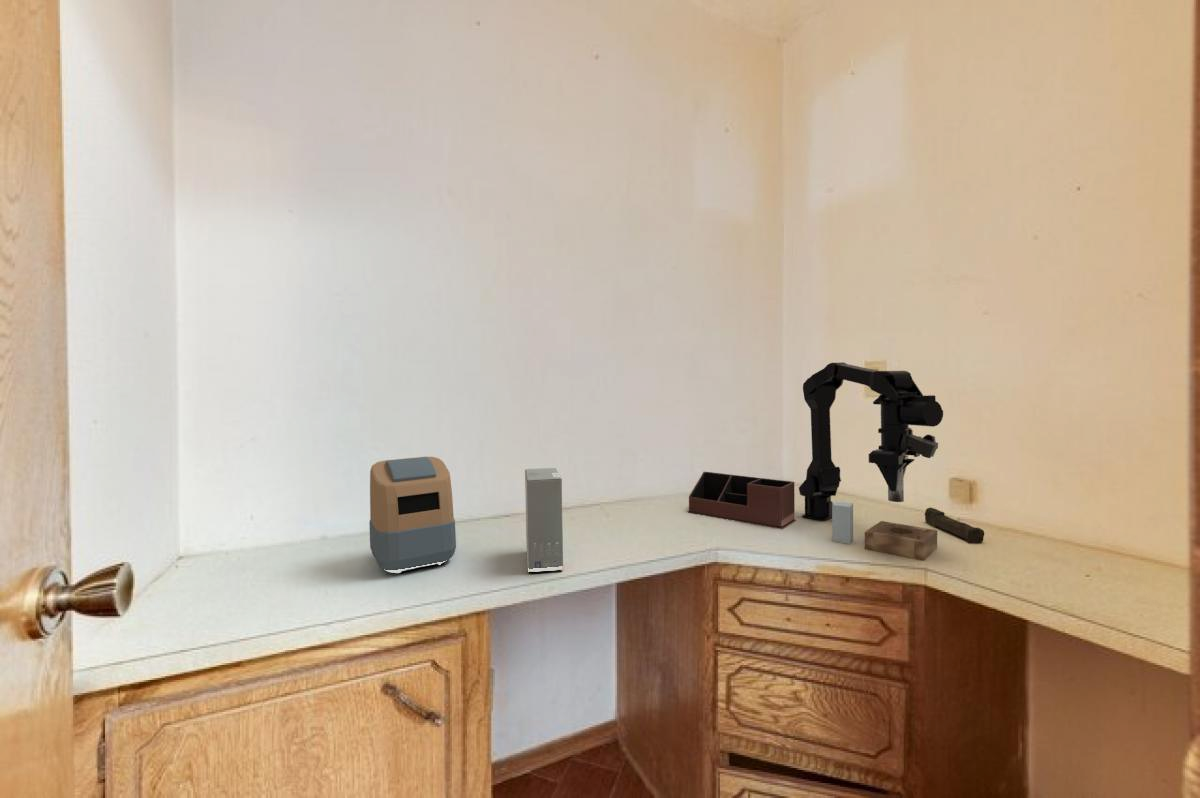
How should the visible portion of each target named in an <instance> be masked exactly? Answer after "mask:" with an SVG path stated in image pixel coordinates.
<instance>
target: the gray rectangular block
mask: <svg viewBox="0 0 1200 798" xmlns="http://www.w3.org/2000/svg"><path fill="white" fill-rule="evenodd" d="M831 519H832V520H831V522H832V523H831V524H832V526H831V530H832V533H831V534H832V536H831V537H832V538H831V542H834V543H840V544H841V543H842V544H848V545H851V544H852V542H853V541H854V503H853V502H852V503H851V502H845V501H844V502H843V501H834V503H833V505H832V517H831Z"/></svg>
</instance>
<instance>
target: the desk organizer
mask: <svg viewBox="0 0 1200 798" xmlns="http://www.w3.org/2000/svg"><path fill="white" fill-rule="evenodd" d="M688 495H689V496H688V510H687V512H688V513H687V514H692V513H693V514H692V515H698V514H699V515H698V516H703V515H705V517H709V516H710V518H715V517H716V518H715V519H721V518H722V519H721V520H726V519H728V520H727V521H732V520H734V521H733V522H738V521H739V522H738V523H744V524H749V523H750V524H749V525H755V526H761V527H768V528H772V529H773V528H774V529H777V530H778V529H780V530H784V529H786V528H787V527H788V526H791V525H792V524H793V523H795V522H797V519H795V518H796V517H795V515H796V513H795V510H796V509H795V481H791V480H790V481H789V480H781V479H780V480H779V479H772V478H762V477H755V476H745V475H738V474H731V473H730V474H729V473H728V474H727V473H721V472H713V471H712V472H711V471H703V472H702V474H701V475H700V477H699V478H698V480H697V482H696V484H695V485H694V487H693V488H692V491H691V492H690V493H689V494H688Z"/></svg>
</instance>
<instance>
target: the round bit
mask: <svg viewBox="0 0 1200 798" xmlns="http://www.w3.org/2000/svg"><path fill="white" fill-rule="evenodd" d="M904 487H905V486H904V478H903V467H902V468H901V469H900V471H899V477H898V483H897V489H896V491H895V492H894V491H890V489H889V487H888V486H887V500H888V502H892V503H904V500H905V498H904V497H905V496H904V494H905V493H904V491H905V490H904Z"/></svg>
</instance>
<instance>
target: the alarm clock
mask: <svg viewBox="0 0 1200 798" xmlns="http://www.w3.org/2000/svg"><path fill="white" fill-rule="evenodd" d="M452 489H453V488H452V479H451V473H450V470H449V469H448V467H447V466H446V463H445V462H444V461H443V460H442V459H440V458H439V457H435V456H419V457H418V456H417V457H407V458H396V459H386V460H381V461H377V462H376V463H374V464H372V465H371V468H370V471H369V497H370V498H369V508H370V509H369V512H370V516H369V517H370V519H369V548H370V551H371V554H372V557H374V559H375V561H376V563H377V564H378V566H379V567H380V568H381V569H382V568H383V569H385V570H398V569H405V568H411V567H416V566H422V565H427V564H432V563H437V562H443V561H446V560H449V559H450V558H451V559H452V558H453V556H454V555H455V552H456V548H457V536H456V534H457V533H456V520H455V519H456V518H455V517H454V504H453V503H454V501H453V492H452ZM451 559H450V560H451ZM450 560H449V561H450ZM383 569H382V570H383Z"/></svg>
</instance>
